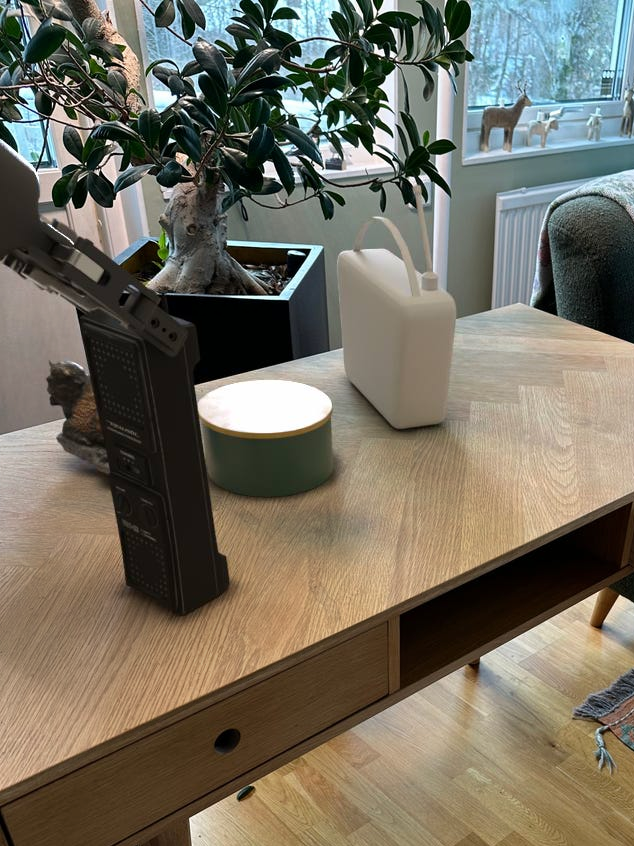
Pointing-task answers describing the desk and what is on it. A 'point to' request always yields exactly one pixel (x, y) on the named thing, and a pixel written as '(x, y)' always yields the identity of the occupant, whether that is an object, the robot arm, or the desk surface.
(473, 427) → the desk surface
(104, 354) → the portable radio
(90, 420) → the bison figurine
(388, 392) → the white watering can
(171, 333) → the robot arm
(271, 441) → the tin
